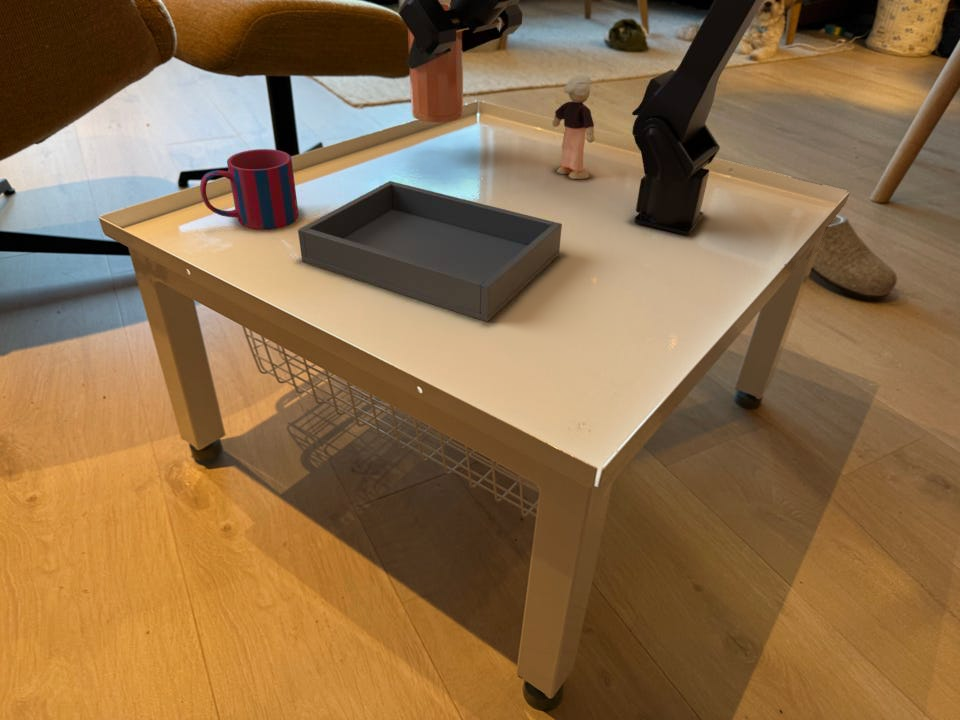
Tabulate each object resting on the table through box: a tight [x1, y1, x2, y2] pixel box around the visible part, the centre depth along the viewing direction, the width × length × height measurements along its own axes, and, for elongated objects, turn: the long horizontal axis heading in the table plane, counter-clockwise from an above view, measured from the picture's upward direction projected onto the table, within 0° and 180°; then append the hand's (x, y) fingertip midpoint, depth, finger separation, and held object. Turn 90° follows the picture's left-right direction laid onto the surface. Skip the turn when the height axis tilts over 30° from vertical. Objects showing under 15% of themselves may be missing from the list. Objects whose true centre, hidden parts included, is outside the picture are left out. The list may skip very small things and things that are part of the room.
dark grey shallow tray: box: [297, 180, 563, 323], centre depth 71 cm, size 22×16×4 cm
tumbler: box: [407, 2, 464, 123], centre depth 90 cm, size 7×7×13 cm
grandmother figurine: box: [551, 72, 596, 180], centre depth 90 cm, size 8×4×13 cm, turn 46°
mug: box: [199, 148, 300, 231], centre depth 76 cm, size 7×10×7 cm
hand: (427, 60), depth 90 cm, fingers closed on tumbler, 7 cm apart
